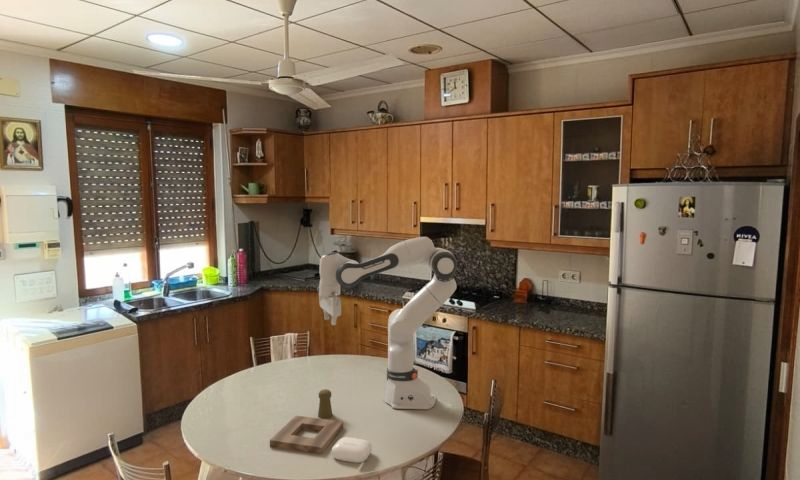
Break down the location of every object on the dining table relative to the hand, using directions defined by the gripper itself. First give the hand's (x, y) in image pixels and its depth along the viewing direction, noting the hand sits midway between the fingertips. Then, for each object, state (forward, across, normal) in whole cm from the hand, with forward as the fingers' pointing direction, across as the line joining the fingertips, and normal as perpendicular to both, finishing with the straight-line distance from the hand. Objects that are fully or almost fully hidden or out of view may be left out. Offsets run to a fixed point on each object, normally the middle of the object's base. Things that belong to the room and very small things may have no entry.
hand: (330, 322), depth 204 cm
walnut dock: (+36, -26, +17) cm, 47 cm away
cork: (+36, -11, +6) cm, 38 cm away
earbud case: (+36, -45, +6) cm, 58 cm away
